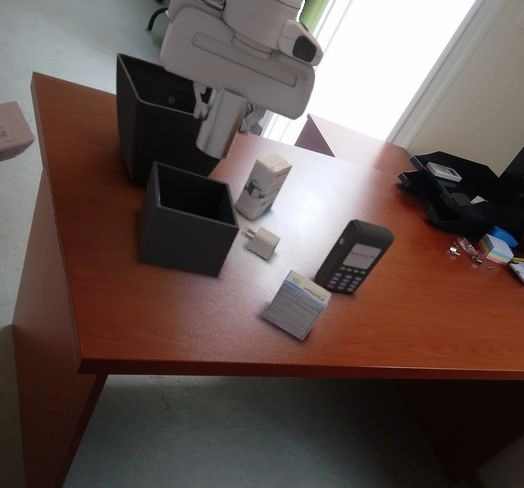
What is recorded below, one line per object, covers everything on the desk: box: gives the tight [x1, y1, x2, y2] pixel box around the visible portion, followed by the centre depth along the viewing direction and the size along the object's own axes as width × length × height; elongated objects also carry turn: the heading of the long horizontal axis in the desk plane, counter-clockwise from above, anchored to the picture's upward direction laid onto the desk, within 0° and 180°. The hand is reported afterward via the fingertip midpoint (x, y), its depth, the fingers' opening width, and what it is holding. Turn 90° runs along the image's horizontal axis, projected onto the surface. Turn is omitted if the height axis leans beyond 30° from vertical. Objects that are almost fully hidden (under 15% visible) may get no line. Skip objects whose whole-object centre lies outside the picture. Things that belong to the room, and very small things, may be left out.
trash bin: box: [139, 161, 241, 278], centre depth 77 cm, size 13×13×10 cm
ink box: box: [234, 152, 293, 221], centre depth 95 cm, size 9×5×12 cm, turn 150°
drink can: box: [196, 88, 250, 160], centre depth 64 cm, size 5×5×9 cm
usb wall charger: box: [240, 226, 282, 261], centre depth 89 cm, size 4×7×4 cm, turn 71°
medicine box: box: [262, 269, 332, 342], centre depth 75 cm, size 8×4×9 cm, turn 71°
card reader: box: [314, 218, 395, 295], centre depth 87 cm, size 9×4×15 cm, turn 106°
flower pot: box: [115, 52, 222, 187], centre depth 87 cm, size 19×19×17 cm
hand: (220, 125), depth 65 cm, fingers closed on drink can, 5 cm apart
